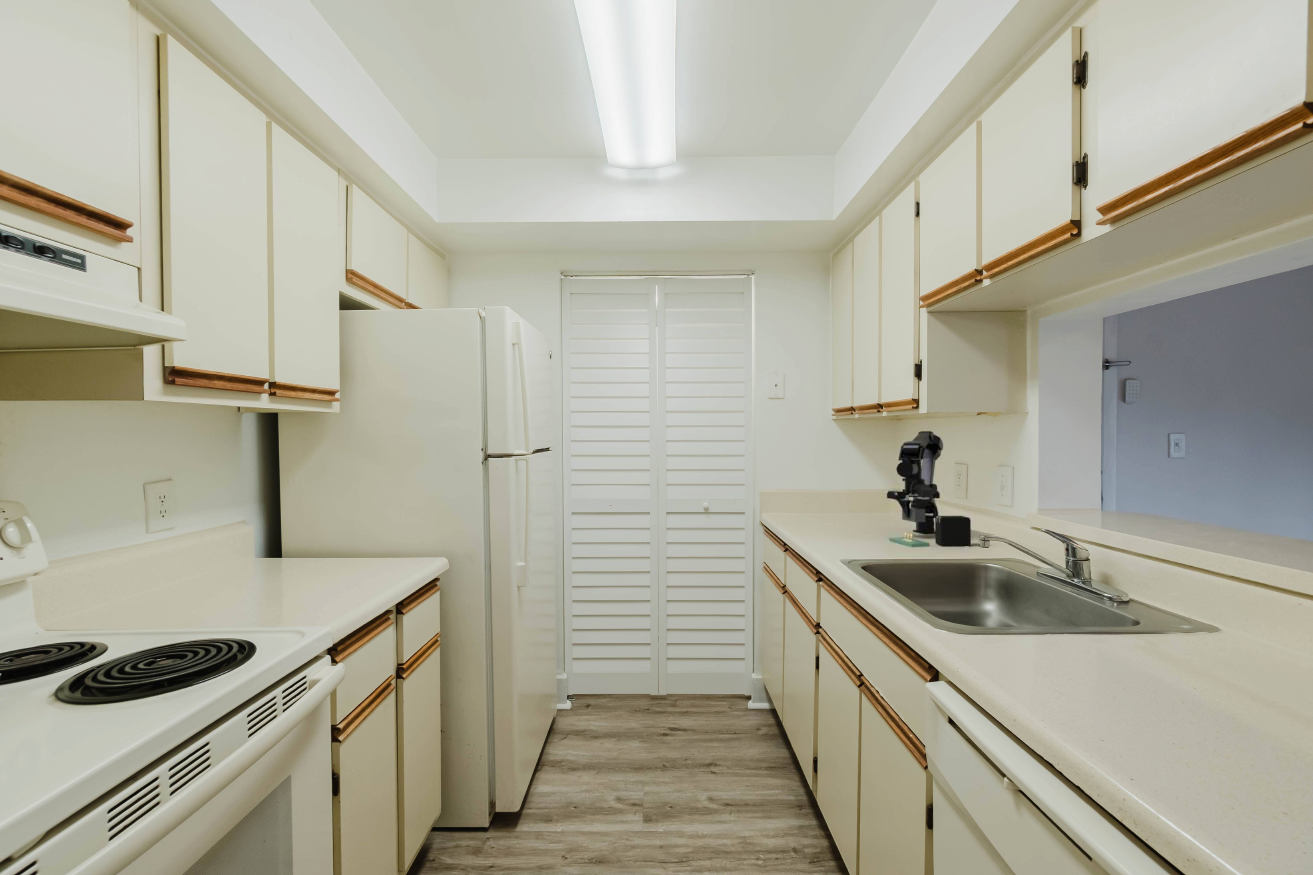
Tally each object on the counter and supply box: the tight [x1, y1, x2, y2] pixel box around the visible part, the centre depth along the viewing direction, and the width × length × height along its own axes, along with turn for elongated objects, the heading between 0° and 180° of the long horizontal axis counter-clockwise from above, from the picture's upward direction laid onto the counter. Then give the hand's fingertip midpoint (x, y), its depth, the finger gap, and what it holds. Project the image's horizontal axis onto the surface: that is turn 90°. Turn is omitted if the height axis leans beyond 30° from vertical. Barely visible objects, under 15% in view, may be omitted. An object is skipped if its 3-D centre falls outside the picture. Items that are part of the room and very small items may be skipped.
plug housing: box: [901, 506, 925, 523], centre depth 200 cm, size 7×4×4 cm, turn 12°
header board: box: [888, 532, 930, 548], centre depth 190 cm, size 12×7×4 cm, turn 12°
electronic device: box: [934, 515, 972, 548], centre depth 185 cm, size 4×10×10 cm, turn 89°
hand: (913, 517), depth 200 cm, fingers closed on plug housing, 4 cm apart
